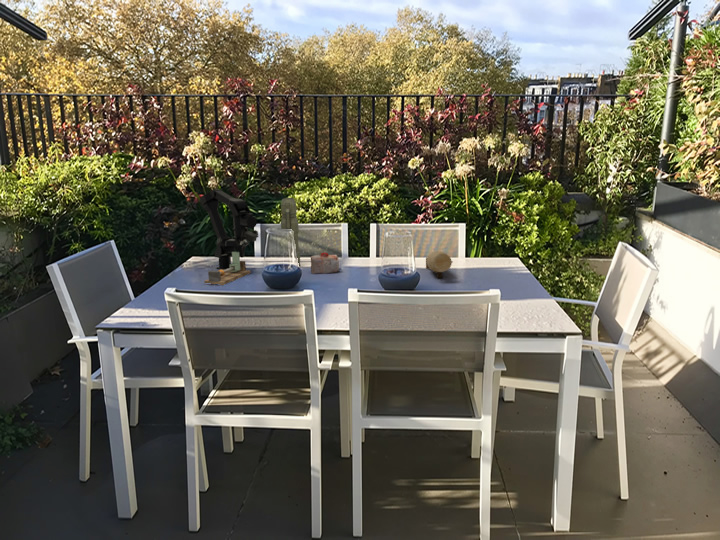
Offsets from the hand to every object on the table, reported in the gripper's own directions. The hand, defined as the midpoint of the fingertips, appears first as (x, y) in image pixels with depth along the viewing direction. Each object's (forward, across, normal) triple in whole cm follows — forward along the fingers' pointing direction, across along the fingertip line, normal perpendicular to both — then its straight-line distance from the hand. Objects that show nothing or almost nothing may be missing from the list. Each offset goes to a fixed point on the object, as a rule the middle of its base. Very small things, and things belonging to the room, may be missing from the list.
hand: (242, 257), depth 298 cm
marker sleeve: (+5, -7, 0) cm, 9 cm away
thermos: (+8, +18, -18) cm, 26 cm away
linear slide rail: (+8, -13, 0) cm, 15 cm away
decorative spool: (+8, +19, -94) cm, 97 cm away
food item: (+8, +11, -40) cm, 42 cm away
